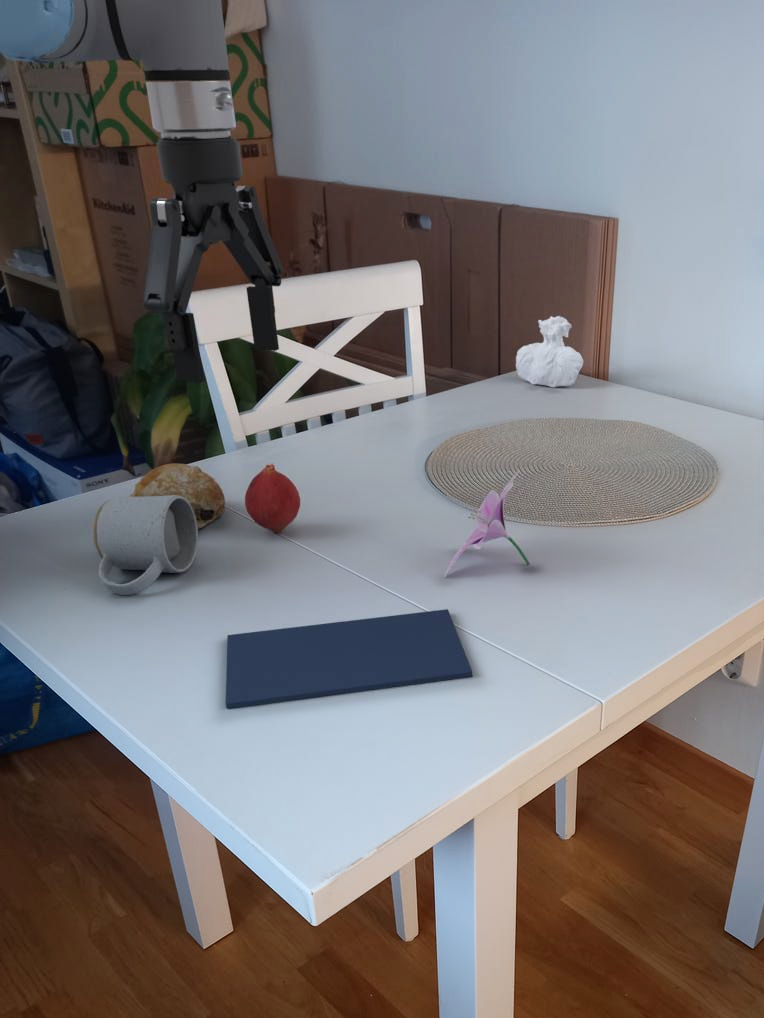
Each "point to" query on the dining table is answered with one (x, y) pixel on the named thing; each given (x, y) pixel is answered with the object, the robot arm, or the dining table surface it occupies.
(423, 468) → the dining table surface
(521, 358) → the bust
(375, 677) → the board
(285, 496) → the onion
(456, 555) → the lily
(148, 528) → the ceramic mug
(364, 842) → the dining table surface
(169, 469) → the bread roll
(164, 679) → the dining table surface
